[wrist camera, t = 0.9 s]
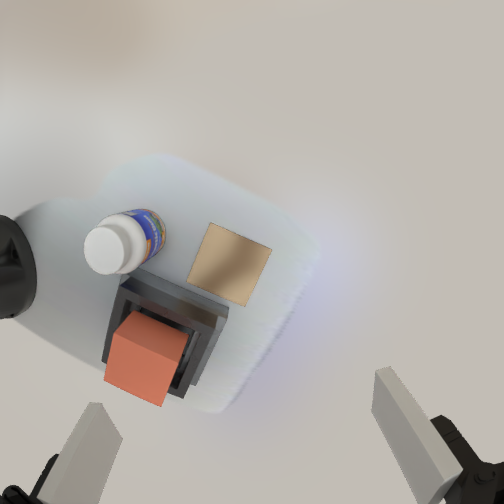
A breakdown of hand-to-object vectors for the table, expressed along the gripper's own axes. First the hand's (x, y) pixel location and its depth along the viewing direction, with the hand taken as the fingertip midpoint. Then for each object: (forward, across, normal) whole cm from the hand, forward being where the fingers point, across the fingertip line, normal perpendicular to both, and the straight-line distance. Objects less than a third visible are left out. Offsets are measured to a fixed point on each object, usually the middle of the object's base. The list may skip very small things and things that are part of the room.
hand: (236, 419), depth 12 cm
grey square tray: (+21, -10, -4) cm, 23 cm away
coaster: (+21, -1, +2) cm, 21 cm away
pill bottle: (+21, -10, +7) cm, 24 cm away
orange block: (+15, -10, -4) cm, 19 cm away
